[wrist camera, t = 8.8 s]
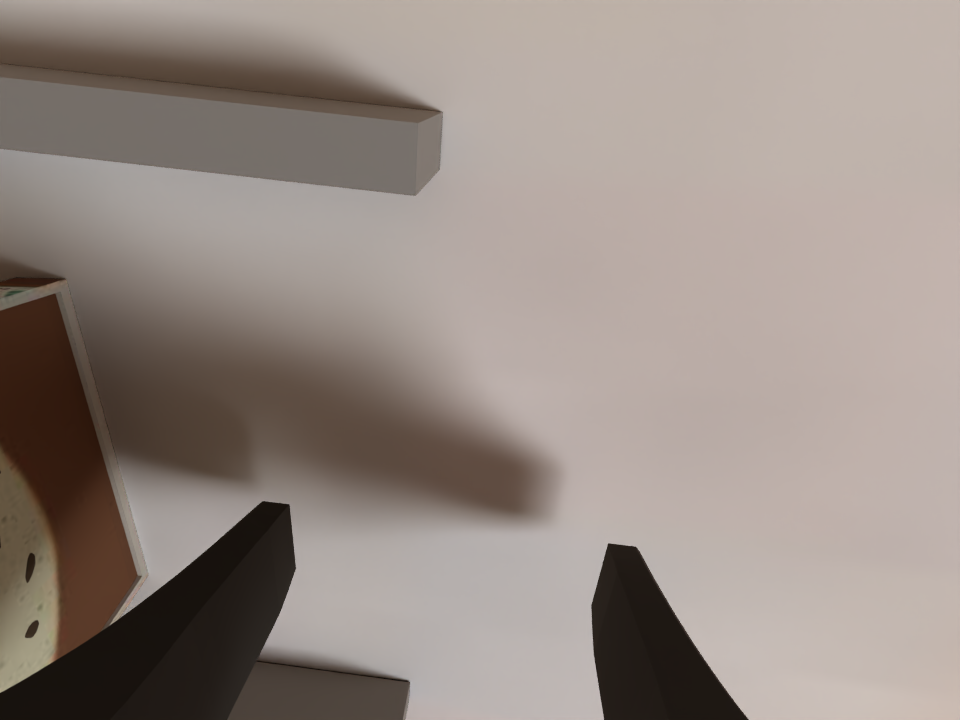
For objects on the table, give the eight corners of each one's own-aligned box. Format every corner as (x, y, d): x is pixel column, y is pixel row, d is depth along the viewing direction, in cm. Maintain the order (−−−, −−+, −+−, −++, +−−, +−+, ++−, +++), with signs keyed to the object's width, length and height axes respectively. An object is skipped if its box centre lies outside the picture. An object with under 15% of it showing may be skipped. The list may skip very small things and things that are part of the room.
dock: (408, 700, 18) (392, 786, 16) (-84, 633, 19) (-167, 708, 17) (442, 111, 10) (417, 123, 8) (-454, 13, 10) (-718, -3, 8)
